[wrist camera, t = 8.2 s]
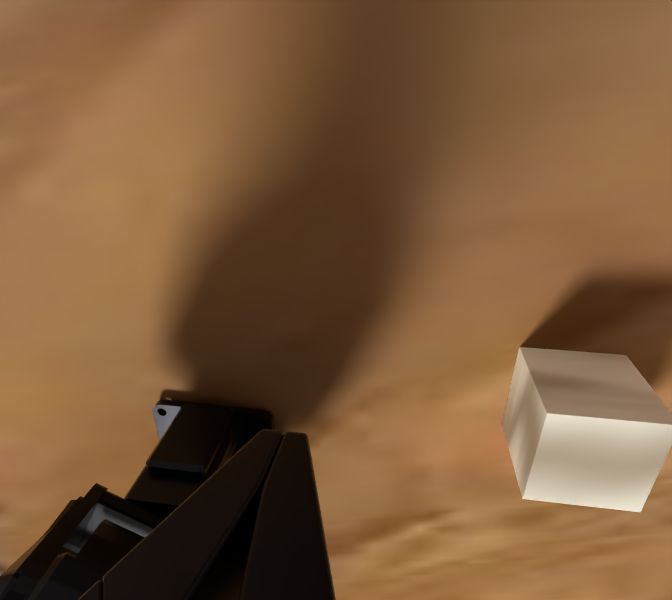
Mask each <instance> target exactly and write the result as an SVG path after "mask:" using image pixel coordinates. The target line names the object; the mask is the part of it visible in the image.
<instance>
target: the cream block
mask: <svg viewBox="0 0 672 600" xmlns="http://www.w3.org/2000/svg"><path fill="white" fill-rule="evenodd" d="M502 426H503V430H504V433H505V437H506V441H507V444H508V448H509V451H510V455H511V459H512V462H513V466H514V470H515V473H516V477H517V480H518V484H519V488H520V491H521V495H522V499H529V500H538V501H546V502H555V503H564V504H573V505H582V506H590V507H599V508H608V509H617V510H626V511H634V512H641V510H642V508H643V506H644V503H645V501H646V499H647V497H648V495H649V493H650V491H651V489H652V486H653V484H654V482H655V480H656V478H657V476H658V474H659V471H660V469H661V467H662V465H663V463H664V461H665V459H666V456H667V454H668V452H669V450H670V448H671V446H672V413H671V412H670V411H669V410H668V408H667V407H666V406H665V404H664V403H663V402H662V401H661V399H660V398H659V397H658V395H657V394H656V393H655V392H654V390H653V389H652V388H651V386H650V385H649V384H648V383H647V381H646V380H645V379H644V377H643V376H642V375H641V374H640V372H639V371H638V370H637V368H636V367H635V366H634V365H633V363H632V362H631V361H630V359H629V358H628V357H627V355H619V354H606V353H593V352H579V351H566V350H553V349H540V348H526V347H519V351H518V356H517V360H516V364H515V369H514V373H513V377H512V382H511V386H510V390H509V395H508V399H507V403H506V408H505V412H504V416H503V421H502Z"/></svg>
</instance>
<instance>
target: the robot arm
mask: <svg viewBox="0 0 672 600" xmlns="http://www.w3.org/2000/svg"><path fill="white" fill-rule="evenodd" d="M163 409H164V410H163ZM153 413H154V418H155V422H156V427H157V431H158V436H159V443H158V444H157V446H156V447H155V449H154V450H153V452H152V453H151V455H150V456H149V458H148V459H147V461H146V466H145V467H144V469H143V470H142V472H141V473H140V475H139V476H138V478H137V479H136V481H135V482H134V484H133V486H132V487H131V489H130V490H129V492H128V493H127V495H126V496H125V498H121V497H119V496H117V495H115V494H113V493H111V492H109V491H107V489H108V488H106V487H104V486H101V485H99V484H97V483H96V484H95V485H94V486H93V487H92V488H91V490H90V491H89V492H88V493H87V494H86V495H85V497H84V498H83V497H81V496H80V497H79V498H78V499H77V500H71V501H70V502H69V503H68V505H67V506H66V507H65V509H64V510H63V511H62V512H61V514H60V515H59V516H58V518H57V519H56V520H55V521H54V523H53V524H52V525H51V527H50V528H49V529H48V530H47V531H46V532H45V534H44V535H43V536H42V537H41V538H40V539H39V540H38V541H37V542H36V543H35V544H34V545H33V546H32V547H30V548H29V549H28V550H27V551H26V552H25V553H24V554H23V555H22V556H21V557H20V558H19V559H18V560H17V561H16V562H15V563H13V564H12V565H11V566H10V567H9V568H8V569H7V570H6V571H5V572H4V573H3V574H2V575H1V576H0V600H336V598H335V592H334V587H333V581H332V575H331V569H330V563H329V557H328V551H327V546H326V540H325V534H324V528H323V522H322V516H321V510H320V504H319V499H318V493H317V487H316V481H315V475H314V469H313V463H312V457H311V452H310V446H309V440H308V436H307V434H305V433H298V432H286V433H285V434H284V432H283V431H279V430H274V418H273V415H272V414H271V413H270V412H268V411H265V410H257V409H248V408H238V407H228V406H219V405H209V404H199V403H190V402H180V401H170V400H160V401H158V402H157V404H156V405H155V406H154V408H153ZM261 419H264V420H266V421H262V420H261Z"/></svg>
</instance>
